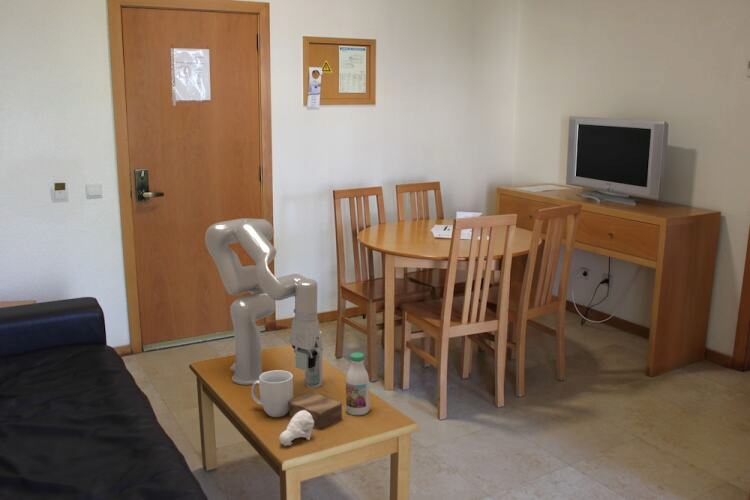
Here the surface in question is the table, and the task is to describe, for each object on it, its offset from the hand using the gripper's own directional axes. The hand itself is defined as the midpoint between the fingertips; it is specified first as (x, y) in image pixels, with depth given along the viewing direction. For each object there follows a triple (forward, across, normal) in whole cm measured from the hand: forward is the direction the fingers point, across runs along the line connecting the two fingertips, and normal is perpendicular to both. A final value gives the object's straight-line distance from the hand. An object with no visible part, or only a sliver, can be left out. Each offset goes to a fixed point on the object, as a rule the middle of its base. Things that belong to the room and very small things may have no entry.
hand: (305, 364), depth 250 cm
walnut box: (+12, +14, -11) cm, 21 cm away
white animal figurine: (+12, +19, -26) cm, 34 cm away
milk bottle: (+12, +22, +2) cm, 25 cm away
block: (+1, 0, 0) cm, 1 cm away
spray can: (+13, -5, +11) cm, 18 cm away
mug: (+13, 0, -15) cm, 20 cm away
